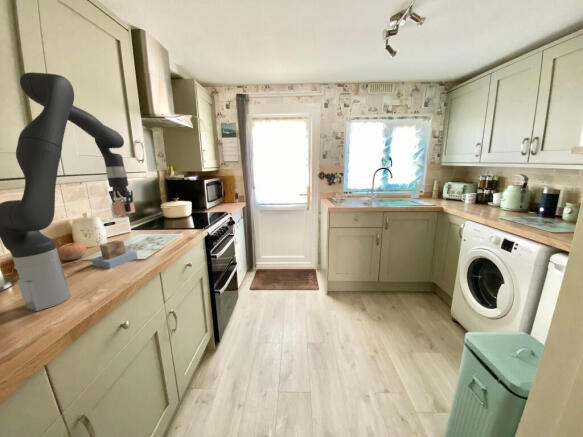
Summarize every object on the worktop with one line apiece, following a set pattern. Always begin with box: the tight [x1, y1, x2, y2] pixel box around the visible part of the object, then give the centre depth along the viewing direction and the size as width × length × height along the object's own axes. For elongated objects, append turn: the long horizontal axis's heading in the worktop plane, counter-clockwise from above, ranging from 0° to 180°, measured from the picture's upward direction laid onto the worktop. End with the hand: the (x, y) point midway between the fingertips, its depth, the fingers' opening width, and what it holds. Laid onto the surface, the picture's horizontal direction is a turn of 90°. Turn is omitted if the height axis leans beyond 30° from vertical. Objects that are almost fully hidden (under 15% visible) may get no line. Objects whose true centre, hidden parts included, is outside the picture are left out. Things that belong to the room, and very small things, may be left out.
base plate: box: [91, 250, 138, 270], centre depth 105 cm, size 12×12×3 cm
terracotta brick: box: [111, 200, 136, 216], centre depth 113 cm, size 7×5×6 cm
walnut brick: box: [99, 239, 127, 259], centre depth 104 cm, size 7×5×6 cm
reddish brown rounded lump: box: [57, 242, 88, 261], centre depth 111 cm, size 11×11×8 cm
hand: (124, 211), depth 113 cm, fingers closed on terracotta brick, 5 cm apart
